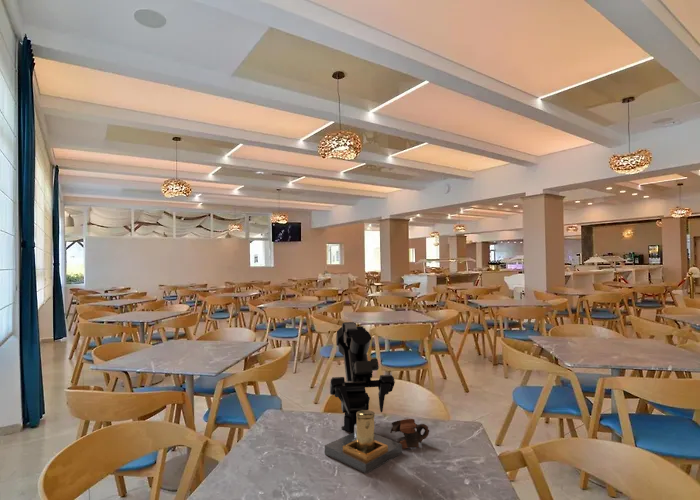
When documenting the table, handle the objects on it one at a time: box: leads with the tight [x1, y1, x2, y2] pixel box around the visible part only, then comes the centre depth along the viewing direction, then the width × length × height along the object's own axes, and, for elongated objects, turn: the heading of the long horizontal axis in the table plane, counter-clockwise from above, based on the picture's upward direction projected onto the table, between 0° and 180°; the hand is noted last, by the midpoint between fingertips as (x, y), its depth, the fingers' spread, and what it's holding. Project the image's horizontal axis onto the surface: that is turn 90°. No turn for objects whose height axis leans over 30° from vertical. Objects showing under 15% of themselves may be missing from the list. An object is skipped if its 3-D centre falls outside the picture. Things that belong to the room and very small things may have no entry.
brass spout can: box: [356, 410, 376, 454], centre depth 114 cm, size 8×5×13 cm
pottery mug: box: [389, 418, 430, 450], centre depth 126 cm, size 12×10×8 cm
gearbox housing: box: [324, 423, 403, 474], centre depth 119 cm, size 16×16×6 cm
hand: (365, 412), depth 115 cm, fingers open, 9 cm apart
